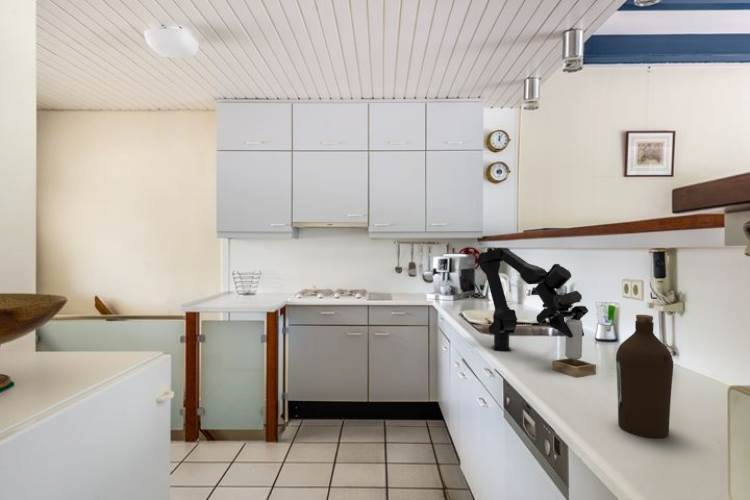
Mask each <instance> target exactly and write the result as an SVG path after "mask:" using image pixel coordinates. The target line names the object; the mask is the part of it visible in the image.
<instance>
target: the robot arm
mask: <svg viewBox="0 0 750 500" xmlns="http://www.w3.org/2000/svg"><path fill="white" fill-rule="evenodd" d="M501 262H504V263H506V264H507V265H508V266H510V267H511V268H512V269H513V270H515V271H517V272H518V273H519V276H520V278H521V279H522V280H523V281H524V282H525V283H526V285H536V287H535V286H534V287H532V291H531V294H530V295H531V296H538V297H539V298H540V300H541V302H543V304H541V305H542V308H543V309H542V310H541V311H540V312H539V313H538V314H537V315H536V322H537V323H538V325H539V326H540V325H541V326H543V325H546V324H547V327H551V328H552V329H554V330H557V331H558V332H559V333H562V334H563V335H564V336H565V337H566V336H568V337H570V338H572V337H573V335H572V333H571V331H570V329H569V328H568V326H567V324H566V321H567V320H568V319H575V320H581V319H582V318H584V317H585V315H586V314H587V313H589V309H588V308H587V307H586V306H585V305H574V306H573V304H576V303H577V304H578V303H581V300H582V298H583V297H582V294H581V293H580V292H579V291H578V290H573V291H571V292H566V293H564V294H559V292H557V290H560V289H562V287H563V286H565V284H566V283H567V282H568V281H569V280H570V279H571V278H572V273H571V271H570V270H568V269H567V268H565V267H563V266H562V265H560V263H554V264H553V265H552V266H551V268H550V269H549V270H548V271H547V270H546V269H545V268H543V267H540V266H538V265H535V264H531V263H528V261H526V260H524V259H523V258H522V257H520V256H519V255H517V254H515V253H514V252H512V251H511V250H510V248H507V247H497V248H495V249H492V250H489V251H486V252H485V251H483V252H480V253H479V254H478V257H477V263H478V265H479V268H480V270H481V271H482V272H483V273H484V274H485V275H486V279H487V284H488V288H489V292H490V295H491V298H492V301H493V306H494V312H493V315H492V319H493V322H492V323H491V324H490V325H489V326H488V332H489V334H493V344H492V345H491V347H492V349H493V351H504V352H505V351H506V352H508V351H509V352H512V348H511V347H510V334H515V332H516V331H515V330H516V328H517V326H518V317H517V314H516V311H515V309H511V308H510V307H509V305H508V301H507V299H506V298H507V297H506V295H505V291H504V287H503V284H502V280H501V276H500V271H499V270H500V268H501ZM546 319H547V320H546ZM565 319H566V321H565ZM547 322H548V323H547ZM584 336H585V333H584V329H583V327H582V338H583V337H584Z"/></svg>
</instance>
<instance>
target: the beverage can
mask: <svg viewBox="0 0 750 500" xmlns="http://www.w3.org/2000/svg"><path fill="white" fill-rule="evenodd" d="M565 323H566V324H567V326H568V328H569V329H570V331H571V333H572V335H573V337H572V338H570V337H568V336H566V335H565V349H564V350H565V353H564V355H565V357H566V359H568V358H570V359H577V360H580V359H582V357H583V355H582V354H583V337H582V328H583V321H582V320H581V319H580V320H575V319H568V320H567V319H566V321H565Z"/></svg>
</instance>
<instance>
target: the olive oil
mask: <svg viewBox="0 0 750 500" xmlns="http://www.w3.org/2000/svg"><path fill="white" fill-rule="evenodd" d="M635 319H636V320H635V326H634V327H635V328H634V329H635V331H634V332H633V333H632V334H631V335H630V336H628V338H626V339H625V340H624V341H622V343H621V344H620V345H619V347H618V349H617V351H616V354H615V355H616V356H615V367H616V387H617V388H616V389H617V392H616V393H617V394H616V395H617V421H618V426H619V428H621V429H622V430H623V431H625V432H628V433H630V434H633V435H636V436H638V437H639V436H640V437H644V438H648V439H649V438H650V439H663V438H666V437H668V436H669V435H670V421H671V420H670V415H671V402H672V401H671V400H672V387H673V386H672V385H673V375H674V360H673V359H674V358H673V356H672V354H671V351H670V350H669V348H668V347H667V346H666V345H665V344H664V343H663V342H662V341H661V340H660V339H659V338H658V337H657V336H656V335H655V333H654V322H653V321H654V316H652V315H650V314H636V315H635Z"/></svg>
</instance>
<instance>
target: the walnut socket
mask: <svg viewBox="0 0 750 500" xmlns="http://www.w3.org/2000/svg"><path fill="white" fill-rule="evenodd" d="M551 368H552V369H551V370H553V371H556V372H557V373H558V372H559V373H561V374H565V375H567V376H570V377H574V378H580V377H585V376H586V377H587V376H591V375H596V374H597V364H595V363H591V362H588V361H584V360H580V359H570V358H562V359H561V358H560V359H555V360H552V367H551Z"/></svg>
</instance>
